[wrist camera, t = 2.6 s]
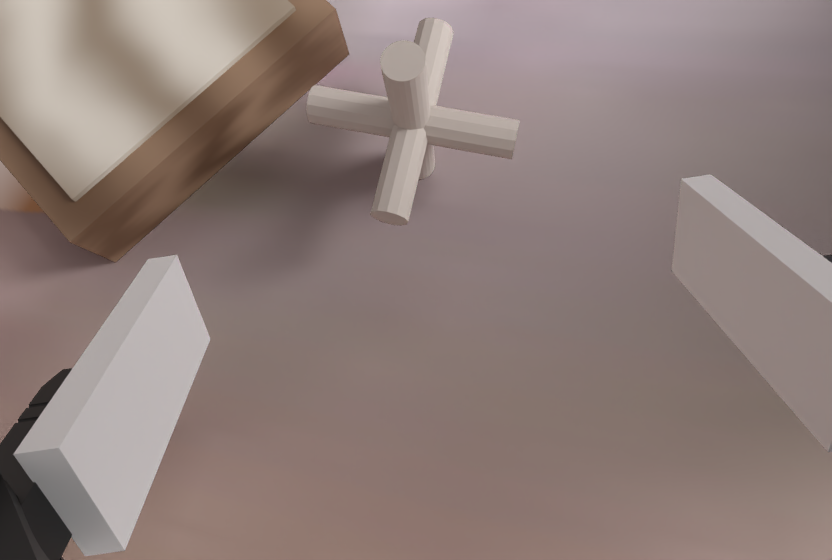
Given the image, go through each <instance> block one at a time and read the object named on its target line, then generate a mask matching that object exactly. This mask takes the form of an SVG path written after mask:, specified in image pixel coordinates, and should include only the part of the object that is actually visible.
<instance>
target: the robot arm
mask: <svg viewBox="0 0 832 560" xmlns="http://www.w3.org/2000/svg"><path fill="white" fill-rule="evenodd" d="M671 271H672V272H673V273H674V275H675V276H676V277H677V278H678V279H679V280H680V282H681V283H682V284H683V285H684V286H685V287H686V288H687V290H688V291H689V292H690V293H691V294H692V295H693V297H694V298H695V299H696V300H697V301H698V302H699V304H700V305H701V306H702V307H703V308H704V309H705V311H706V312H707V313H708V314H709V315H710V316H711V317H712V319H713V320H714V321H715V322H716V323H717V324H718V326H719V327H720V328H721V329H722V330H723V331H724V333H725V334H726V335H727V336H728V337H729V338H730V339H731V341H732V342H733V343H734V344H735V345H736V346H737V348H738V349H739V350H740V351H741V352H742V353H743V355H744V356H745V357H746V358H747V359H748V360H749V362H750V363H751V364H752V365H753V366H754V367H755V368H756V370H757V371H758V372H759V373H760V374H761V375H762V377H763V378H764V379H765V380H766V381H767V382H768V384H769V385H770V386H771V387H772V388H773V389H774V390H775V392H776V393H777V394H778V395H779V396H780V397H781V399H782V400H783V401H784V402H785V403H786V404H787V406H788V407H789V408H790V409H791V410H792V411H793V412H794V414H795V415H796V416H797V417H798V418H799V419H800V421H801V422H802V423H803V424H804V425H805V426H806V428H807V429H808V430H809V431H810V432H811V433H812V435H813V436H814V437H815V438H816V439H817V440H818V441H819V443H820V444H821V445H822V446H823V447H824V448H825V450H826V451H827V452H832V255H828V256H822V255H820V254H819V253H817V252H816V251H815V250H813V249H812V248H811V247H809V246H808V245H807V244H805V243H804V242H802V241H801V240H800V239H798V238H797V237H796V236H794V235H793V234H792V233H790V232H789V231H787V230H786V229H785V228H783V227H782V226H781V225H779V224H778V223H777V222H775V221H774V220H772V219H771V218H770V217H768V216H767V215H766V214H764V213H763V212H762V211H760V210H759V209H757V208H756V207H755V206H753V205H752V204H751V203H749V202H748V201H747V200H745V199H744V198H742V197H741V196H740V195H738V194H737V193H736V192H734V191H733V190H732V189H730V188H729V187H727V186H726V185H725V184H723V183H722V182H721V181H719V180H718V179H717V178H715V177H714V176H712V175H711V174H709V175H703V176H696V177H689V178H683V179H681V182H680V192H679V201H678V211H677V221H676V231H675V241H674V251H673V260H672V270H671ZM209 341H210V336H209V334H208V331H207V329H206V326H205V324H204V321H203V319H202V316H201V314H200V311H199V309H198V306H197V304H196V301H195V299H194V296H193V294H192V291H191V289H190V286H189V284H188V281H187V279H186V276H185V274H184V271H183V269H182V266H181V264H180V261H179V259H178V256H177V255H172V256H165V257H158V258H152V259H148V260H147V261H146V263H145V264H144V266H143V267H142V269H141V270H140V272H139V273H138V274H137V276H136V277H135V279H134V280H133V282H132V283H131V285H130V286H129V287H128V289H127V290H126V292H125V293H124V295H123V296H122V298H121V299H120V300H119V302H118V303H117V305H116V306H115V308H114V309H113V311H112V312H111V313H110V315H109V316H108V318H107V319H106V321H105V322H104V324H103V325H102V327H101V328H100V329H99V331H98V332H97V334H96V335H95V337H94V338H93V340H92V341H91V342H90V344H89V345H88V347H87V348H86V350H85V351H84V353H83V354H82V355H81V357H80V358H79V360H78V361H77V363H76V364H75V366H74V367H73V368H71V369H64V370H62V371H60V372H59V373H58V374H57V375H56V376H54V377H53V378H52V379H51V380H50V381H48V382H47V383H46V384H45V385H43V386H42V387H41V389H40V390H39V392H38V393H37V394H36V396H35V397H34V398H33V400H32V401H31V402H30V404H29V408H26V409H25V411H24V412H23V413H22V415H21V416H20V418H19V419H18V423H15V424H14V426H13V427H12V429H11V430H10V431H9V433H8V434H7V435H6V437H5V438H4V439H3V441H2V442H1V444H0V560H64V559H63V558H62V554H63V552H64V550H65V548H66V546H67V544H68V542H69V540H70V538H71V537H72V539H73V540H74V541H75V543H76V544H77V546H78V547H79V548H80V550H81V551H82V553H83V554H84V556H91V555H98V554H105V553H112V552H119V551H125V549H126V547H127V544H128V542H129V539H130V537H131V534H132V532H133V530H134V527H135V525H136V522H137V520H138V517H139V515H140V512H141V510H142V507H143V505H144V502H145V500H146V497H147V495H148V492H149V490H150V487H151V485H152V482H153V480H154V478H155V475H156V473H157V470H158V468H159V465H160V463H161V460H162V458H163V455H164V453H165V450H166V448H167V445H168V443H169V440H170V438H171V435H172V433H173V431H174V428H175V426H176V423H177V421H178V418H179V416H180V413H181V411H182V408H183V406H184V403H185V401H186V398H187V396H188V393H189V391H190V388H191V386H192V384H193V381H194V379H195V376H196V374H197V371H198V369H199V366H200V364H201V361H202V359H203V356H204V354H205V351H206V349H207V346H208V344H209Z"/></svg>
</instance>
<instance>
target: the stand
mask: <svg viewBox="0 0 832 560" xmlns="http://www.w3.org/2000/svg"><path fill="white" fill-rule="evenodd" d="M348 55H349V51H348V48H347V45H346V41H345V38H344V35H343V31H342V28H341V25H340V21H339V18H338V15H337V11H336V9H335V8H334V7H333V6H332V5H331V4H330V3H328V2H327V1H326V0H0V161H1V162H2V163H3V164H4V165H5V166H6V168H7V169H8V170H9V171H10V172H11V173H12V175H13V176H14V177H15V178H16V179H17V180H18V182H19V183H20V184H21V185H22V186H23V188H24V189H25V190H26V191H27V192H28V194H29V195H30V196H31V197H32V198H33V199H34V201H35V202H36V203H37V204H38V205H39V206H40V208H41V209H42V210H43V211H44V212H45V214H46V215H47V216H48V217H49V218H50V219H51V221H52V222H53V223H54V224H55V225H56V227H57V228H58V229H59V230H60V231H61V232H62V234H63V235H64V236H65V237H66V238H67V240H68V241H69V242H70V243H73V244H75V245H77V246H79V247H82V248H84V249H86V250H88V251H91V252H93V253H95V254H98V255H100V256H102V257H104V258H107V259H109V260H111V261H113V262H117V261H118V260H119V259H120V258H121V257H122V256H123V255H125V254H126V253H127V252H128V251H129V250H130V249H131V248H132V247H133V246H135V245H136V244H137V243H138V242H139V241H140V240H141V239H142V238H144V237H145V236H146V235H147V234H148V233H149V232H150V231H151V230H153V229H154V228H155V227H156V226H157V225H158V224H159V223H160V222H162V221H163V220H164V219H165V218H166V217H167V216H168V215H169V214H171V213H172V212H173V211H174V210H175V209H176V208H177V207H178V206H179V205H181V204H182V203H183V202H184V201H185V200H186V199H187V198H188V197H190V196H191V195H192V194H193V193H194V192H195V191H196V190H197V189H199V188H200V187H201V186H202V185H203V184H204V183H205V182H206V181H208V180H209V179H210V178H211V177H212V176H213V175H214V174H215V173H217V172H218V171H219V170H220V169H221V168H222V167H223V166H224V165H226V164H227V163H228V162H229V161H230V160H231V159H232V158H233V157H234V156H236V155H237V154H238V153H239V152H240V151H241V150H242V149H243V148H245V147H246V146H247V145H248V144H249V143H250V142H251V141H252V140H254V139H255V138H256V137H257V136H258V135H259V134H260V133H261V132H263V131H264V130H265V129H266V128H267V127H268V126H269V125H270V124H272V123H273V122H274V121H275V120H276V119H277V118H278V117H279V116H280V115H282V114H283V113H284V112H285V111H286V110H287V109H288V108H289V107H291V106H292V105H293V104H294V103H295V102H296V101H297V100H298V99H300V98H301V97H302V96H303V95H304V94H305V93H306V92H307V91H309V90H310V89H311V87H313V86H314V85H315V84H316V83H318V82H319V81H320V80H321V79H322V78H323V77H324V76H325V75H327V74H328V73H329V72H330V71H331V70H332V69H333V68H334V67H335V66H337V65H338V64H339V63H340V62H341V61H342V60H343V59H344V58H346V57H347V56H348Z"/></svg>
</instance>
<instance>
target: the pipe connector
mask: <svg viewBox="0 0 832 560" xmlns="http://www.w3.org/2000/svg"><path fill="white" fill-rule="evenodd" d="M453 34H454V32H453V30H452V27H451V26H450V25H449V24H448V23H446V22H445V21H443V20H440V19H437V18H425V19H423V20H421V21H420V22H419V25H418V28H417V32H416V36H415V40H414V42H411V41H397V42H394V43H392V44H390V45H389V46H388V47H386V49H385V50H384V51H383V53H382V55H381V59H380V65H381V70H382V75H383V79H384V84H385V88H386V93H387V97H383V96H377V95H371V94H365V93H359V92H354V91H348V90H342V89H336V88H330V87H324V86H319V85H314V86H313V87H311V89H310V92H309V94H308V99H307V110H306V114H307V118H308V121H309V122H310V123H313V124H319V125H324V126H330V127H335V128H341V129H346V130H352V131H358V132H363V133H369V134H374V135H380V136H385V137H390V138H389V142H388V146H387V150H386V154H385V158H384V162H383V166H382V170H381V174H380V178H379V182H378V185H377V189H376V193H375V197H374V201H373V205H372V209H371V213H370V215H371V216H372V217H373V218H375V219H377V220H379V221H381V222H385V223H388V224H393V225H407V223H408V221H409V217H410V213H411V209H412V204H413V200H414V196H415V192H416V188H417V184H418V180H420V179H424V178H427V177H428V176H430V175H431V174H432V172H433V171H434V168H435V156H434V145H435V146H441V147H446V148H452V149H458V150H463V151H469V152H474V153H480V154H485V155H491V156H496V157H502V158H508V159H512V156H513V151H514V146H515V142H516V137H517V132H518V127H519V122H520V120H516V119H511V118H505V117H499V116H493V115H487V114H482V113H476V112H470V111H464V110H458V109H452V108H447V107H441V106H436V104H437V100H438V96H439V92H440V88H441V84H442V79H443V75H444V71H445V67H446V63H447V59H448V54H449V50H450V46H451V42H452V38H453Z"/></svg>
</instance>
